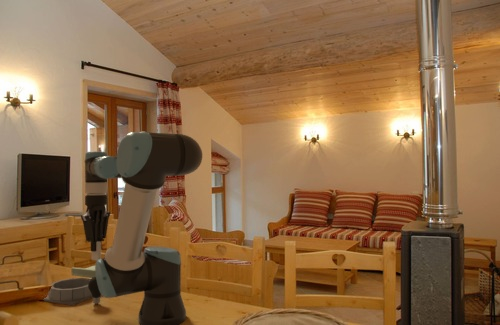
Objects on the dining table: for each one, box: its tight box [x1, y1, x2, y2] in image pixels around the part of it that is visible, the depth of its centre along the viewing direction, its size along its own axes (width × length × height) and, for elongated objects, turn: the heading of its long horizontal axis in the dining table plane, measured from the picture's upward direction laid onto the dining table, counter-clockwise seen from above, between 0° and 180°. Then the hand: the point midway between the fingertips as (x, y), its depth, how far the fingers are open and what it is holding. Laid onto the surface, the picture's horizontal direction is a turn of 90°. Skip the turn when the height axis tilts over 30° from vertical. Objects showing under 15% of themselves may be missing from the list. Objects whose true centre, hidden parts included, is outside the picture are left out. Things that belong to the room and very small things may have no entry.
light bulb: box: [88, 277, 102, 306], centre depth 148 cm, size 6×6×10 cm
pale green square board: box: [71, 265, 96, 279], centre depth 173 cm, size 16×16×3 cm
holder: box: [43, 277, 93, 306], centre depth 157 cm, size 16×16×5 cm
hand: (96, 259), depth 148 cm, fingers closed
